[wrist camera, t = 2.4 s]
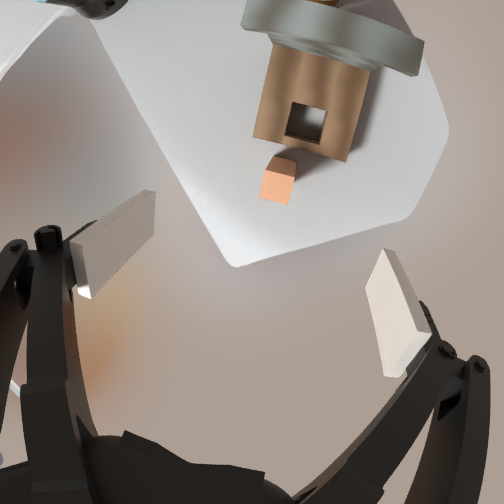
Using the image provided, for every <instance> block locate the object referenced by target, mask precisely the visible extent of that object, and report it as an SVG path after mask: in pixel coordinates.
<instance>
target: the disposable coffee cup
mask: <svg viewBox="0 0 504 504" xmlns="http://www.w3.org/2000/svg"><path fill="white" fill-rule="evenodd" d="M307 1H311V2H316V3H320V4H324V5H328V6H332V7H334V5H335V4H336V3H337V2H338V1H339V0H307Z"/></svg>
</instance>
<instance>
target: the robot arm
mask: <svg viewBox="0 0 504 504" xmlns="http://www.w3.org/2000/svg"><path fill="white" fill-rule="evenodd" d="M32 1H37V2H39V3H50V4H56V5H62V6H68V7H73V8H74V9H75V10H76V11H77V12H79V13H80V14H81V15H82V16H84V17H86V18H89V19H94V20H99V19H103V18H106V17H108V16H110V15H112V14H114V13H115V12H116V11H118V10H119V9H120V8H121V7H122V6H123V5H124V4H125V3H126V2H127V1H128V0H32ZM154 211H155V192H153V191H147V190H143V191H141V192H140V193H138V194H137V195H135V196H133V197H132V198H130V199H129V200H127V201H126V202H124V203H123V204H121V205H120V206H118V207H117V208H115V209H114V210H112V211H111V212H109V213H108V214H106V215H105V216H103V217H102V218H100V219H99V220H96V221H93V222H90V223H88V224H86V225H85V226H83V227H82V228H81V229H79V230H78V231H76V233H74V234H72V235H71V236H69V237H68V238H67V239H65V240H64V241H63V240H62V233H61V228H60V227H59V226H56V225H47V226H44V227H41V228H39V229H38V230H36V231H35V233H34V238H35V243H36V248H37V250H28V245H27V242H26V241H25V240H22V239H15V240H12V241H11V242H9V243H8V244H7V245H6V246H5V247H4V248H3V250H2V251H1V253H0V433H1V429H2V424H3V419H4V412H5V406H6V401H7V395H8V390H9V386H10V381H11V377H12V372H13V368H14V364H15V361H16V357H17V353H18V349H19V346H20V343H21V340H22V336H23V333H24V330H25V327H26V324H27V321H28V327H27V383H26V384H24V385H22V386H21V388H20V401H21V413H22V423H23V432H24V439H25V445H26V451H27V457H28V461H25V462H22V463H19V464H16V465H12V466H9V467H5V468H2V469H0V504H377V503H378V501H379V500H380V499H381V497H382V496H383V494H384V490H383V489H382V488H383V486H384V484H385V483H386V481H387V480H388V479H389V477H390V476H391V475H392V474H393V472H394V471H395V469H396V468H397V467H398V465H399V464H400V462H401V461H402V459H403V458H404V457H405V455H406V454H407V452H408V450H409V449H410V447H411V446H412V444H413V443H414V441H415V439H416V438H417V436H418V435H419V433H420V431H421V430H422V428H423V426H424V424H425V423H426V421H427V419H428V418H429V416H430V414H431V412H432V410H433V408H434V412H433V416H432V420H431V425H430V428H429V432H428V436H427V440H426V443H425V447H424V450H423V453H422V457H421V460H420V463H419V466H418V469H417V472H416V475H415V477H414V480H413V483H412V485H411V488H410V491H409V493H408V495H407V498H406V500H405V503H404V504H477V503H478V499H479V494H480V490H481V486H482V481H483V475H484V469H485V463H486V455H487V448H488V437H489V424H490V369H489V366H488V364H487V362H486V361H485V360H484V359H483V358H481V357H480V356H477V355H473V356H471V357H470V359H469V360H468V361H467V362H466V361H464V360H461V359H459V358H457V354H456V351H455V349H454V348H453V347H452V346H451V345H450V344H449V343H448V342H446V341H444V340H441V338H440V335H439V333H438V331H437V328H436V326H435V323H433V322H434V321H433V319H432V317H431V314H430V312H429V310H428V308H427V307H426V306H425V305H424V303H423V302H422V301H419V300H418V299H417V296H416V294H415V292H414V290H413V288H412V286H411V283H410V281H409V279H408V277H407V275H406V273H405V271H404V269H403V267H402V265H401V263H400V261H399V259H398V257H397V255H396V253H395V252H394V251H392V250H388V249H385V248H383V249H382V252H381V254H380V256H379V259H378V261H377V263H376V265H375V268H374V270H373V272H372V274H371V277H370V279H369V281H368V283H367V285H366V287H365V288H366V292H367V296H368V300H369V304H370V309H371V313H372V317H373V322H374V326H375V330H376V335H377V340H378V345H379V350H380V355H381V360H382V366H383V371H384V376H388V377H397V378H398V377H400V375H401V374H402V373H403V372H404V371H405V369H406V371H407V377H406V378H405V380H404V381H403V382H402V383H401V384H400V385H399V386H398V388H397V389H396V390H395V393H394V394H393V396H392V397H391V398H390V399H389V401H388V402H387V403H386V405H385V406H384V407H383V408H382V410H381V411H380V412H379V413H378V414H377V416H376V417H375V418H374V419H373V420H372V422H371V423H370V424H369V425H368V426H367V427H366V428H365V430H364V431H363V432H362V433H361V434H360V435H359V436H358V437H357V439H356V440H355V441H354V442H353V443H352V444H351V445H350V446H349V447H348V448H347V449H346V450H345V451H344V452H343V453H342V454H341V455H340V456H339V457H338V458H337V459H336V460H335V461H334V462H333V463H332V464H331V465H330V466H329V467H328V468H327V469H326V470H325V471H324V472H323V473H321V474H320V475H319V476H318V477H317V478H316V479H315V480H314V481H312V482H311V483H310V484H309V485H307V486H306V487H305V488H303V489H302V490H301V491H299V492H298V493H297V494H296V495H294V496H293V497H290V496H289V495H288V494H287V493H286V492H285V491H284V490H283V489H281V488H280V487H278V486H277V485H275V484H273V483H271V482H270V481H267V480H265V479H264V475H265V472H262V471H257V470H251V469H246V468H241V467H237V466H232V465H212V464H194V463H189V462H187V461H185V460H183V459H182V458H180V457H178V456H177V455H175V454H173V453H172V452H170V451H169V450H167V449H165V448H164V447H162V446H161V445H159V444H158V443H155V442H153V441H150V440H148V439H145V438H142V437H140V436H138V435H135V434H133V433H130V432H128V431H126V430H125V431H124V433H123V435H122V437H120V436H111V435H107V436H98V433H97V431H96V428H95V426H94V424H93V421H92V417H91V413H90V409H89V405H88V401H87V396H86V391H85V386H84V381H83V376H82V371H81V365H80V358H79V352H78V344H77V335H76V327H75V315H74V302H73V292H72V287H73V286H75V284H77V288H78V292H79V294H81V295H83V296H85V297H88V298H90V299H92V298H93V297H94V295H95V294H96V293H97V292H98V291H99V290H100V289H101V288H102V287H103V286H104V285H105V284H106V283H107V281H108V280H109V279H110V278H111V277H112V276H113V275H114V274H115V273H116V272H117V271H118V270H119V269H120V268H121V267H122V266H123V265H124V264H125V263H126V262H127V261H128V260H129V259H130V258H131V256H133V254H135V252H136V251H138V249H140V248H141V247H142V246H143V244H145V243H146V242H147V241H148V240H149V239H150V238H151V237H152V236H153V235H154V213H155V212H154ZM434 406H435V407H434ZM2 463H3V456H2V454H1V453H0V465H2Z"/></svg>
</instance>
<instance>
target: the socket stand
mask: <svg viewBox="0 0 504 504" xmlns="http://www.w3.org/2000/svg"><path fill="white" fill-rule="evenodd" d="M241 26H242V27H243V29H244V30H248V31H255V32H262V33H267V34H268V36H269V38H270V40H271V42H272V44H273V49H272V53H271V58H270V62H269V66H268V70H267V75H266V79H265V83H264V88H263V92H262V96H261V101H260V105H259V110H258V114H257V119H256V123H255V128H254V133H253V137H254V138H258V139H263V140H267V141H271V142H275V143H279V144H283V145H287V146H291V147H295V148H299V149H302V150H306V151H310V152H313V153H317V154H320V155H324V156H327V157H330V158H334V159H337V160H340V161H343V162H346V160H347V156H348V153H349V150H350V146H351V143H352V139H353V136H354V132H355V129H356V125H357V122H358V118H359V114H360V111H361V107H362V103H363V99H364V96H365V92H366V88H367V84H368V80H369V75H370V72H371V71H373V70H375V69H378V68H380V67H382V66H387V67H389V68H392V69H394V70H396V71H399V72H401V73H403V74H406V75H408V76H410V77H412V76H418V73H419V68H420V63H421V59H422V54H423V48H424V41H423V40H420V39H418V38H416V37H414V36H412V35H410V34H408V33H405V32H403V31H401V30H399V29H396V28H394V27H391V26H389V25H386V24H384V23H381V22H379V21H376V20H373V19H370V18H367V17H365V16H362V15H359V14H356V13H352V12H349V11H346V10H342V9H339V8H335V7H332V6H328V5H324V4H320V3H316V2H311V1H307V0H247V2H246V6H245V10H244V14H243V18H242V22H241ZM293 102H295V103H299V104H303V105H307V106H311V107H314V108H318V109H321V110H325V111H326V113H325V117H324V121H323V125H322V128H321V132H320V136H319V140H318V141H314V140H311V139H307V138H303V137H300V136H296V135H292V134H288V133H286V130H287V125H288V121H289V117H290V113H291V109H292V105H293Z"/></svg>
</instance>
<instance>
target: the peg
mask: <svg viewBox="0 0 504 504" xmlns="http://www.w3.org/2000/svg"><path fill="white" fill-rule="evenodd" d="M296 163H297V162H295V161H292V160H288V159H284V158H280V157H276V156H273V157H272V159H271V161H270V163H269V164H268V166H267V168H266V170H265V174H264V178H263V182H262V187H261V191H260V195H259V197H260V198H263V199H267V200H271V201H275V202H279V203H283V204H286V205H288V201H289V198H290V194H291V190H292V186H293V183H294V179H295V172H296Z"/></svg>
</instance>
